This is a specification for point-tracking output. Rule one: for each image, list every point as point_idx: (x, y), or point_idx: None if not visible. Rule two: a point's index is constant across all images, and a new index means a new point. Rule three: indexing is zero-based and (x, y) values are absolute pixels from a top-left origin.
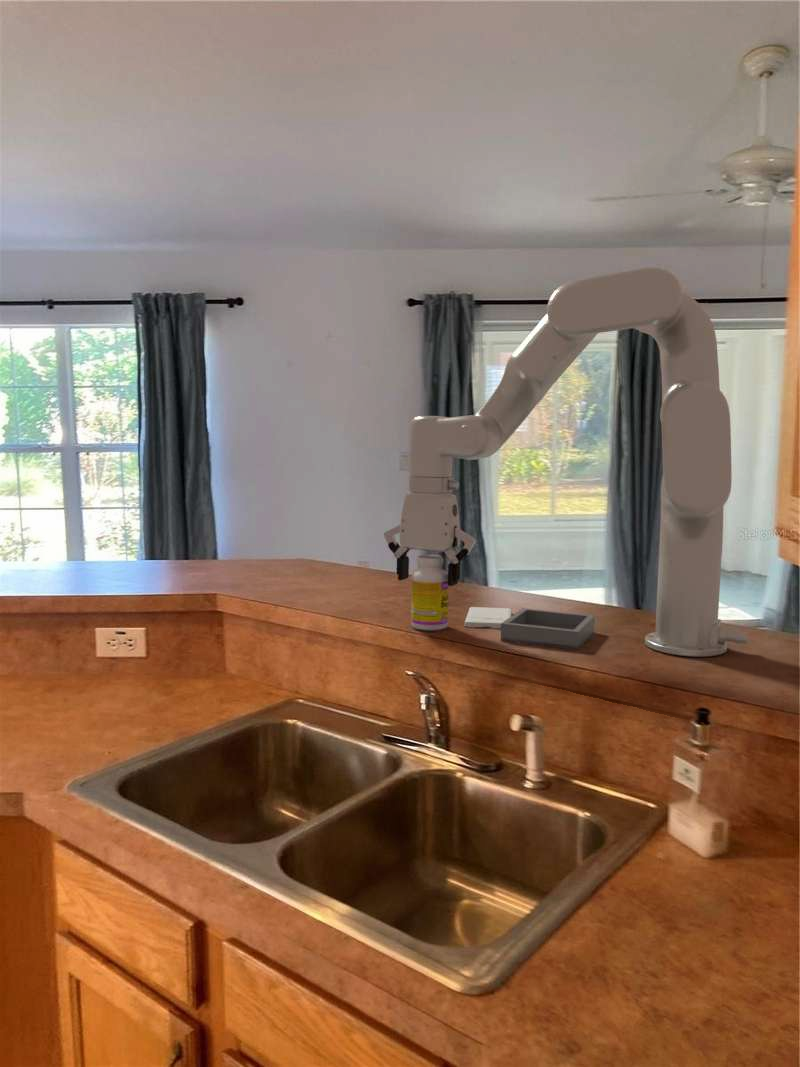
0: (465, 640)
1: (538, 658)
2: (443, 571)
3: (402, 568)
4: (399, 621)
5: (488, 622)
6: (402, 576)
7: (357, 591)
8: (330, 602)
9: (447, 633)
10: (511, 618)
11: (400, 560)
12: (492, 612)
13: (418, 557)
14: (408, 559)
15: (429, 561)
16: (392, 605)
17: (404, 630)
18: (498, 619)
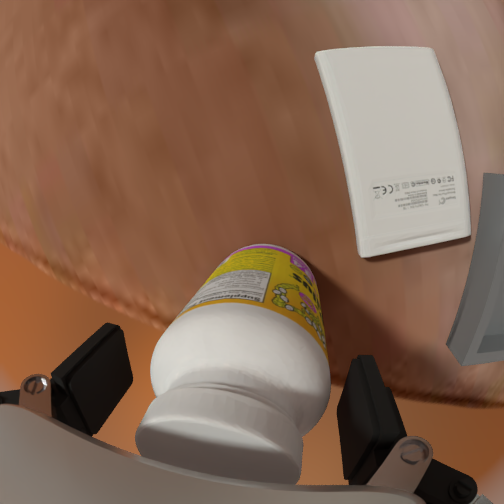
0: None
1: (479, 399)
2: (306, 413)
3: (112, 407)
4: (165, 257)
5: (425, 241)
6: (126, 384)
7: (19, 47)
8: (4, 155)
9: (328, 333)
10: (487, 312)
11: (92, 434)
12: (408, 106)
13: None
14: (76, 380)
15: None
16: (88, 96)
17: None
18: (444, 195)
